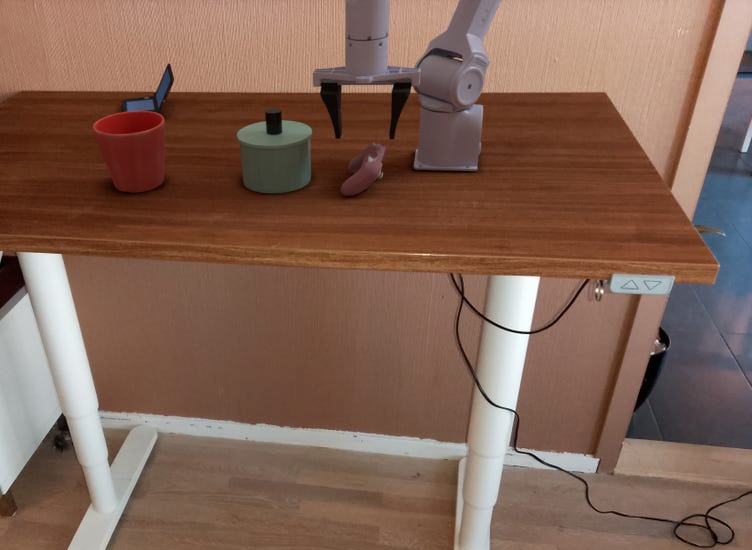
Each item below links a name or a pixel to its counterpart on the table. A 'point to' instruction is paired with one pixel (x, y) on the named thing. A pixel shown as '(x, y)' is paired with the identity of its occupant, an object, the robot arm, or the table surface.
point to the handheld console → (155, 101)
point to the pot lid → (274, 132)
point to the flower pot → (133, 149)
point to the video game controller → (364, 170)
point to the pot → (276, 168)
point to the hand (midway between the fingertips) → (365, 136)
